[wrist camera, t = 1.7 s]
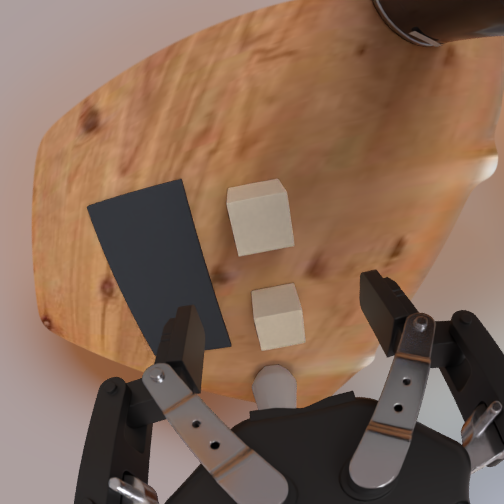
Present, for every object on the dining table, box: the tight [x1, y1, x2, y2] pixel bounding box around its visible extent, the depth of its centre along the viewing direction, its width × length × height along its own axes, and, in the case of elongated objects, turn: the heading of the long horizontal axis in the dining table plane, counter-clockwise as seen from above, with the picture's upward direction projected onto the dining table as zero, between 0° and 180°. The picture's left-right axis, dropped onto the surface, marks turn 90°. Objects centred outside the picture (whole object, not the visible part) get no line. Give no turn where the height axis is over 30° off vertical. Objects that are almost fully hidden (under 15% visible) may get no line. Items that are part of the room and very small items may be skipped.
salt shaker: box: [252, 364, 297, 410], centre depth 31 cm, size 6×6×13 cm
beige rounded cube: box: [226, 179, 294, 256], centre depth 24 cm, size 4×5×4 cm
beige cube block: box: [251, 283, 305, 351], centre depth 29 cm, size 4×5×4 cm
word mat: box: [87, 179, 231, 356], centre depth 29 cm, size 20×10×1 cm, turn 11°
